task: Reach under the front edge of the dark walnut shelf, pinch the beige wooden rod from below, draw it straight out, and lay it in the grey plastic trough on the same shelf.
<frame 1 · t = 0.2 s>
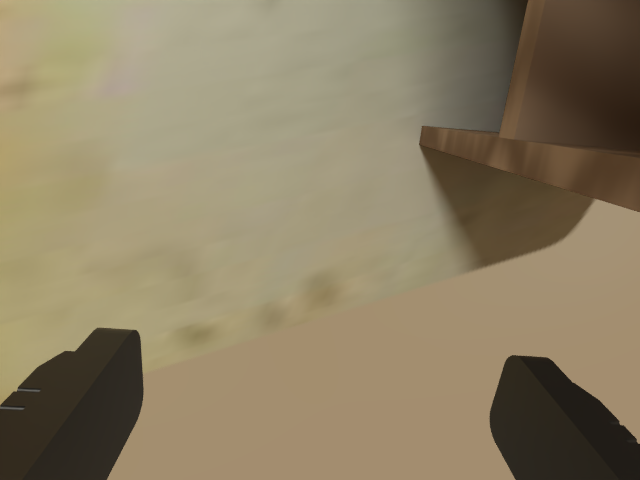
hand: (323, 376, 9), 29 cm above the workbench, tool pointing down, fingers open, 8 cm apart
shelf: (530, 14, 33), on the workbench
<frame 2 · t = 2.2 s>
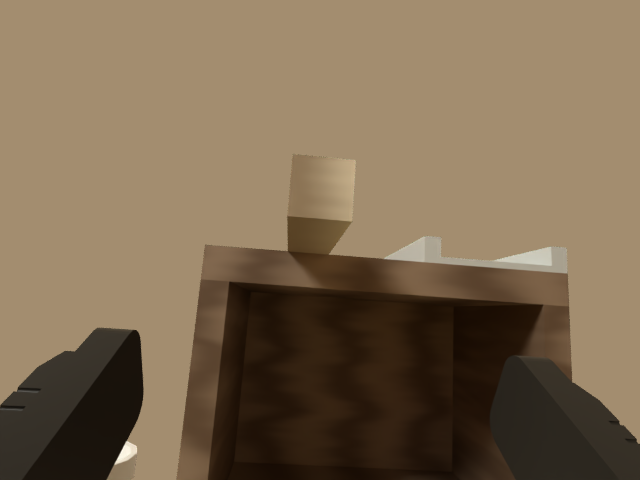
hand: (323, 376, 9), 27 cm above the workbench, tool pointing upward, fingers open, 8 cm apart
beige wooden rod: (305, 261, 27), point 32 cm above the workbench, touching shelf
trough: (448, 277, 32), resting on shelf
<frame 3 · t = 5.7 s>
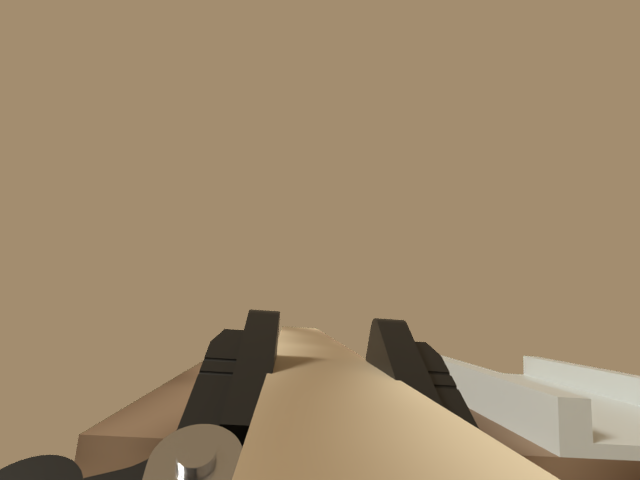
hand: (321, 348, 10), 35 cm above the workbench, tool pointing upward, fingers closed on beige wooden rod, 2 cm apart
beige wooden rod: (305, 409, 15), point 32 cm above the workbench, touching gripper, shelf
trough: (544, 404, 19), resting on shelf
when the fingers open (37 cm above the workbench, at t = 12.6 s): beige wooden rod stays where it is, resting on trough.
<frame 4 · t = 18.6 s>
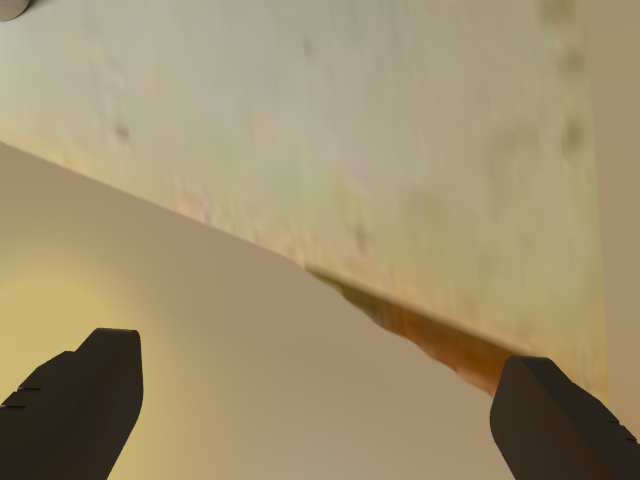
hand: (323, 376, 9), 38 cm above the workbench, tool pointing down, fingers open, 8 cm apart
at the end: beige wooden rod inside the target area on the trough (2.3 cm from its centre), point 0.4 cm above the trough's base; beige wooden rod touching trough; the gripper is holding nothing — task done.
